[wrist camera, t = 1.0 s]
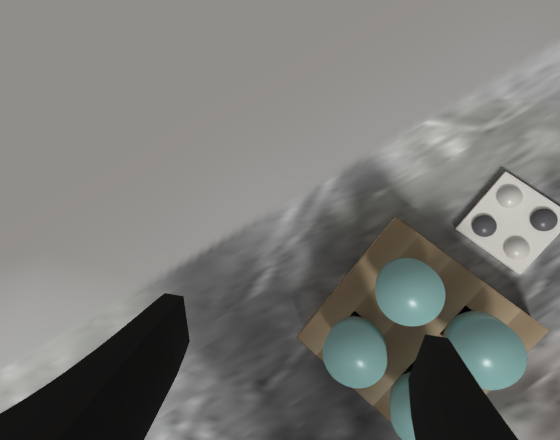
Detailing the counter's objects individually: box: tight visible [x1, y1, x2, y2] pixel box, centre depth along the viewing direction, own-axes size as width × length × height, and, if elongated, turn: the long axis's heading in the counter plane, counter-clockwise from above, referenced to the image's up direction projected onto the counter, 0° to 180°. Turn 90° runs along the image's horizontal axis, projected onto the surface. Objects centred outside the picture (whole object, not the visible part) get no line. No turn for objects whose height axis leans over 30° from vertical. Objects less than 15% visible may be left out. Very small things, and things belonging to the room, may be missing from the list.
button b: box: [323, 316, 387, 388], centre depth 18 cm, size 3×3×4 cm
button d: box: [375, 257, 445, 326], centre depth 17 cm, size 3×3×4 cm
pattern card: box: [455, 172, 560, 275], centre depth 19 cm, size 4×4×1 cm
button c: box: [443, 311, 527, 390], centre depth 17 cm, size 3×3×4 cm
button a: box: [389, 371, 415, 440], centre depth 17 cm, size 3×3×4 cm
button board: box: [297, 217, 549, 423], centre depth 19 cm, size 9×9×2 cm
